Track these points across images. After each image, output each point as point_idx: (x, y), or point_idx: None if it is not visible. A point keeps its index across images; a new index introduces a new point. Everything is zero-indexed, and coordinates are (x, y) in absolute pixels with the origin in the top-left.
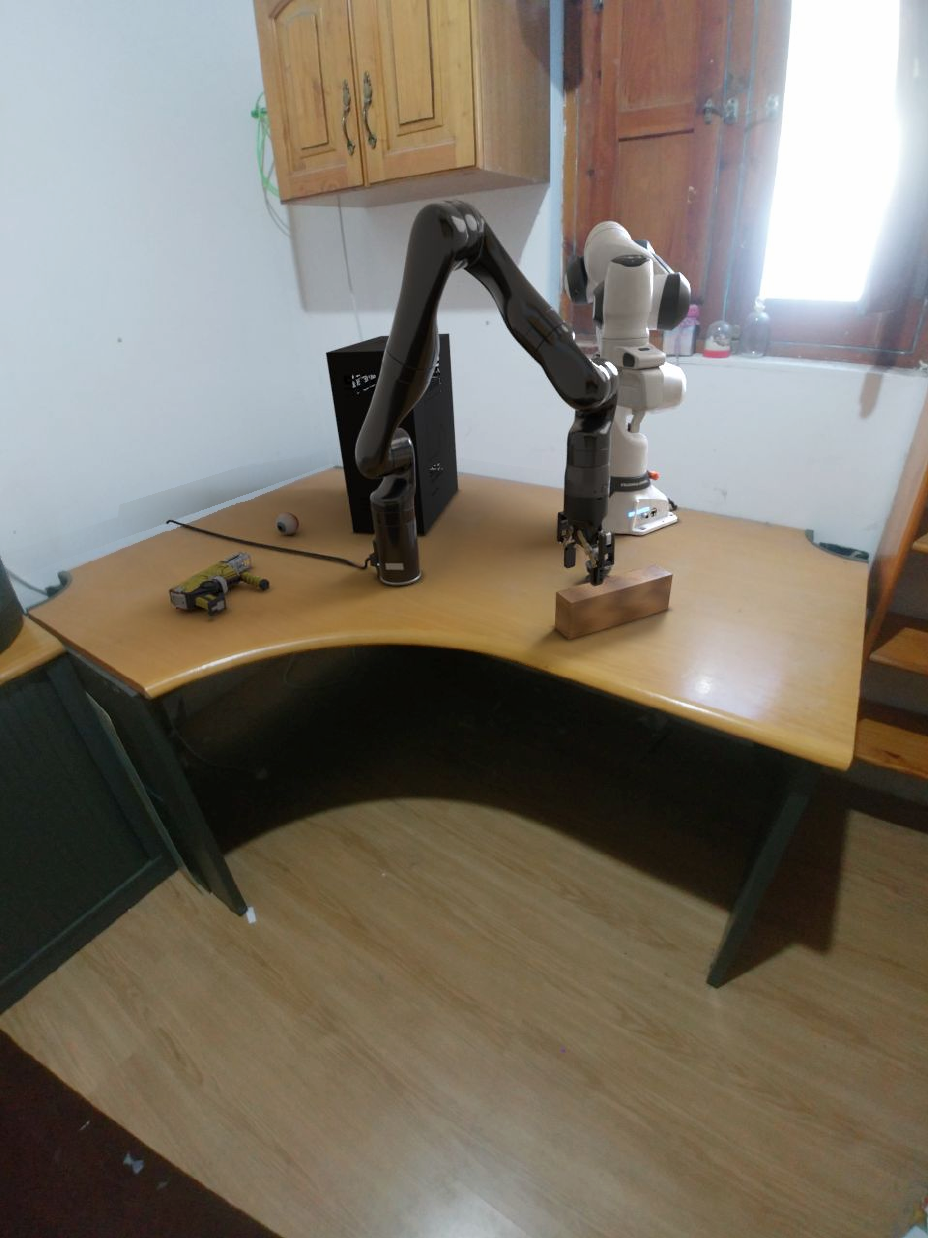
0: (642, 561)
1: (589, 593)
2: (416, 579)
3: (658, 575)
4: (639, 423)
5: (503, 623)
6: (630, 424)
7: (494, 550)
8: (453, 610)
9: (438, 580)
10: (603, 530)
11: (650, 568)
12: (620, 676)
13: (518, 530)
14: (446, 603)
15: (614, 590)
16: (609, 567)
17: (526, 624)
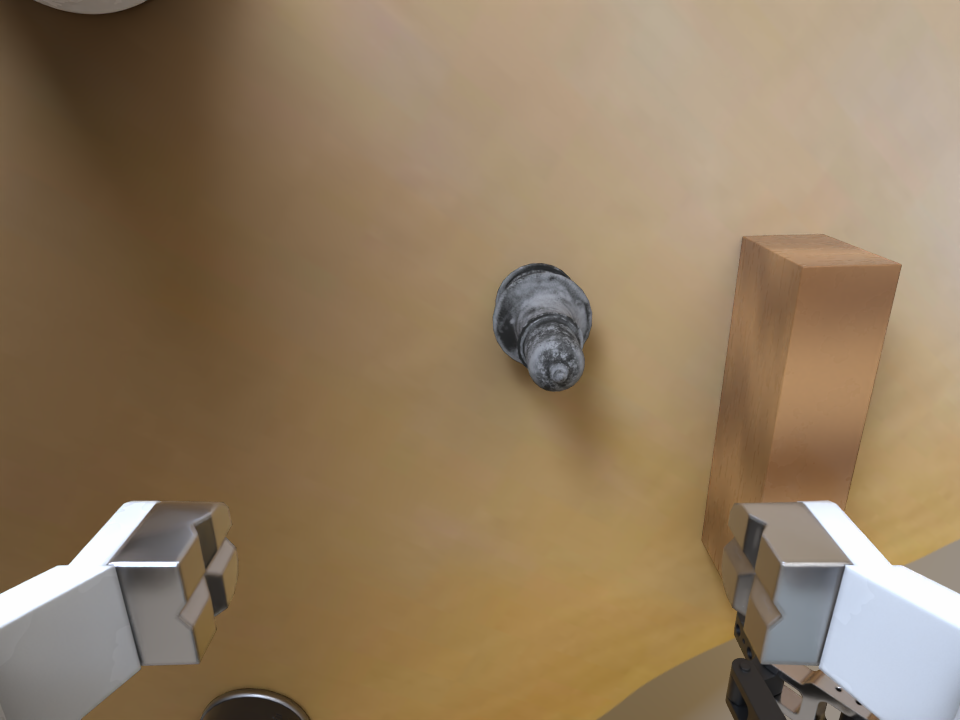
0: (494, 59)
1: None
2: (300, 712)
3: (873, 315)
4: (888, 569)
5: (611, 620)
6: (816, 657)
7: (169, 473)
8: (491, 683)
9: (315, 663)
10: (135, 3)
11: (815, 303)
12: (951, 521)
13: (4, 324)
14: (449, 684)
15: (847, 490)
16: (588, 307)
17: (646, 583)
